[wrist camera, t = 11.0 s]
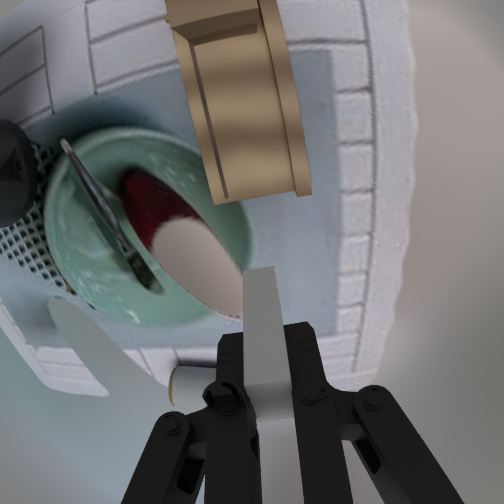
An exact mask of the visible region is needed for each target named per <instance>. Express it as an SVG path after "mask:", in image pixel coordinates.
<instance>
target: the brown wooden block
mask: <svg viewBox="0 0 504 504" xmlns="http://www.w3.org/2000/svg"><path fill="white" fill-rule="evenodd" d="M165 3H166V8H167V13H168V15H166V16H165V21H166V23H169V22H170V27H171V29H173V30H174V31H175V32H177V33H178V34H179V35H181V36H182V37H183V38H185V39H186V40H187V41H189V42H190V43H191V44H193V45H194V46H197V45H201V44H205V43H209V42H213V41H218V40H222V39H227V38H232V37H237V36H242V35H248V34H254V33H257V25H258V10H259V7H258V3H257V0H165Z"/></svg>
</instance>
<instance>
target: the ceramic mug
mask: <svg viewBox="0 0 504 504" xmlns="http://www.w3.org/2000/svg"><path fill="white" fill-rule="evenodd" d="M215 380H216V368H206V367H191V366H178V367H176V368H175V369H174V370H173V371H172V373H171V376H170V380H169V400H170V402H171V404H172V405H173V406H176V407H178V408H181V409H186V410H193V411H199V410H201V409H203V408H205V407H206V406H207V404H206V403H205V401H204V399H203V398H202V395H203V391H204V390H205V388H206V387H207V386H208V385H209V384H211V383H212V382H214V381H215Z"/></svg>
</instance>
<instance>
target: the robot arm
mask: <svg viewBox="0 0 504 504" xmlns="http://www.w3.org/2000/svg"><path fill="white" fill-rule="evenodd" d="M36 188H37V169H36V163H35V158H34V154H33V151H32V148H31V146H30V143H29V141H28V139H27V138H26V136H25V134H24V133H23V132H22V131H21V129H20V128H19V127H18V126H16V125H15V124H14V123H12V122H10V121H7V120H0V228H3V227H8V226H10V225H12V224H14V223H16V222H17V221H18V220H20V219H21V218H22V217H23V216H25V215H26V214H27V212H28V211H29V210H30V208H31V206H32V204H33V201H34V198H35V194H36ZM202 398H203V399H204V401H205V403H206V404H207V406H206V407H205V408H203V409H201V410H199V411H196V412H194V413H191V414H188V415H184V414H183V413H180V412H177V411H175V412H174V411H171V412H167V413H165V414H163V415H162V416H160V417H159V419H158V420H157V421H156V423H155V426H154V428H153V430H152V432H151V435H150V437H149V439H148V442H147V444H146V446H145V448H144V450H143V453H142V455H141V458H140V460H139V462H138V464H137V467H136V469H135V472H134V474H133V476H132V479H131V481H130V483H129V485H128V488H127V490H126V493H125V495H124V497H123V500H122V502H121V504H195V502H196V499H197V497H198V494H199V490H200V487H201V484H202V481H203V478H204V475H205V494H204V504H262V487H261V467H260V447H259V434H258V430H257V424H256V419H257V421H258V422H262V421H270V420H278V419H285V418H293V417H294V418H295V426H296V435H297V443H298V451H299V459H300V467H301V477H302V486H303V495H304V504H353V499H352V493H351V488H350V482H349V477H348V471H347V466H346V461H345V456H344V451H343V446H342V441H341V440H349V441H351V443H352V445H353V447H354V448H355V450H356V452H357V454H358V456H359V458H360V459H361V461H362V463H363V465H364V467H365V469H366V470H367V472H368V474H369V476H370V478H371V480H372V481H373V483H374V485H375V487H376V489H377V490H378V492H379V494H380V496H381V498H382V500H383V501H384V503H385V504H464V502H463V501H462V499H461V498H460V496H459V494H458V493H457V491H456V490H455V488H454V487H453V485H452V483H451V482H450V480H449V479H448V477H447V476H446V475H445V473H444V471H443V470H442V468H441V467H440V465H439V464H438V462H437V460H436V459H435V457H434V456H433V455H432V453H431V452H430V450H429V448H428V447H427V445H426V444H425V442H424V441H423V440H422V438H421V437H420V435H419V434H418V432H417V431H416V429H415V428H414V426H413V425H412V423H411V422H410V421H409V419H408V418H407V416H406V415H405V413H404V412H403V410H402V409H401V407H400V406H399V404H398V403H397V402H396V400H395V399H394V397H393V396H392V394H391V393H390V392H389V391H388V390H387V389H386V388H384V387H382V386H379V385H370V386H366V387H364V388H362V389H361V390H359V391H358V392H348V391H341V390H338V389H335V388H334V387H332V386H331V385H330V384H329V383H328V382H327V380H326V377H325V373H324V369H323V365H322V361H321V356H320V352H319V349H318V344H317V341H316V336H315V332H314V329H313V328H312V327H311V326H310V324H309V323H308V322H307V321H306V322H300V323H294V324H288V325H283V320H282V314H281V307H280V301H279V294H278V288H277V282H276V276H275V270H274V266H270V267H264V268H258V269H252V270H246V271H243V332H239V333H231V334H223V336H222V338H221V340H220V341H219V343H218V350H217V365H216V380H215V381H214V382H212V383H211V384H209V385H208V386H207V387H206V388H205V390H204V391H203V395H202Z"/></svg>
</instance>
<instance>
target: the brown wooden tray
mask: <svg viewBox="0 0 504 504" xmlns="http://www.w3.org/2000/svg"><path fill="white" fill-rule="evenodd" d="M257 3H258V7H259V10H258V25H257V33H254V34H248V35H242V36H237V37H232V38H227V39H222V40H218V41H213V42H209V43H205V44H201V45H197V46H194V45H193V44H191V43H190V42H189V41H187V40H186V39H185V38H183V37H182V36H181V35H179V34H178V33H177V32H175V31H174V30H173V29H172V32H173V37H174V41H175V46H176V50H177V55H178V59H179V64H180V68H181V72H182V77H183V81H184V85H185V90H186V94H187V98H188V102H189V107H190V111H191V115H192V119H193V123H194V127H195V131H196V135H197V140H198V144H199V148H200V152H201V156H202V160H203V164H204V168H205V172H206V175H207V179H208V183H209V187H210V191H211V195H212V199H213V203H214V205H218V204H223V203H228V202H233V201H239V200H244V199H249V198H255V197H260V196H266V195H272V194H277V193H283V192H289V191H295V193H296V195H297V197H300V196H306V195H312V188H311V181H310V174H309V167H308V160H307V153H306V147H305V140H304V134H303V128H302V122H301V116H300V110H299V105H298V99H297V94H296V89H295V83H294V78H293V73H292V68H291V63H290V59H289V54H288V49H287V45H286V40H285V36H284V32H283V27H282V23H281V19H280V15H279V11H278V7H277V3H276V0H257Z"/></svg>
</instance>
